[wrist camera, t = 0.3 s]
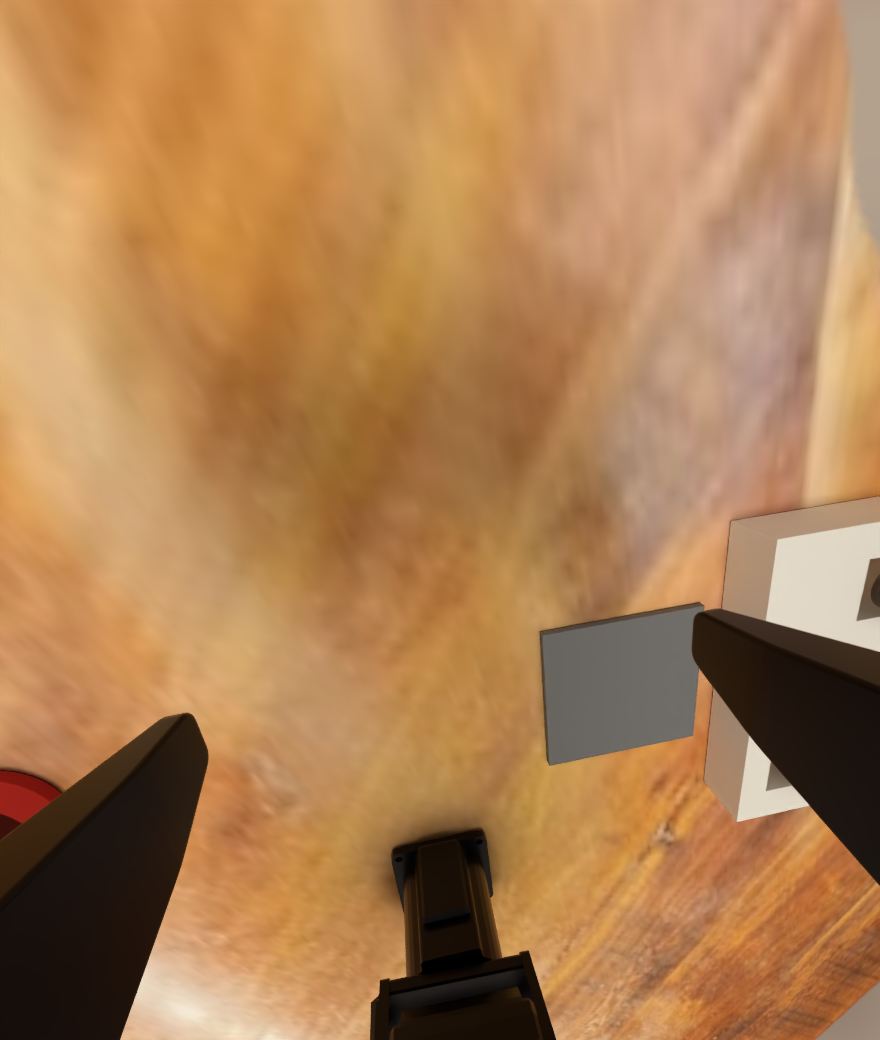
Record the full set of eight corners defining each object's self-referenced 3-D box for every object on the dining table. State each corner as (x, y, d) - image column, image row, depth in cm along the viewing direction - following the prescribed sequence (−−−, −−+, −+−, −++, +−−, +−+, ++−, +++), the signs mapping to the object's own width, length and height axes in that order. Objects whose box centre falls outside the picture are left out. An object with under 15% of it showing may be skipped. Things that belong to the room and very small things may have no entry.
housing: (854, 748, 31) (901, 784, 28) (703, 781, 30) (736, 822, 27) (919, 489, 25) (988, 502, 22) (731, 521, 24) (777, 539, 21)
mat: (688, 731, 28) (693, 735, 28) (547, 760, 28) (549, 765, 27) (699, 602, 25) (704, 605, 25) (540, 631, 24) (542, 635, 24)
